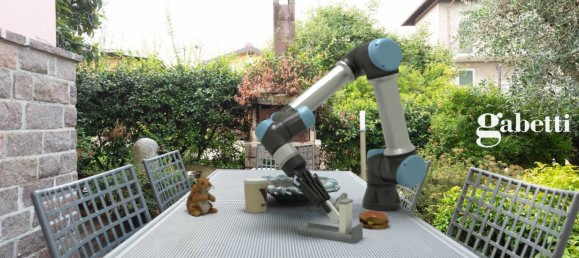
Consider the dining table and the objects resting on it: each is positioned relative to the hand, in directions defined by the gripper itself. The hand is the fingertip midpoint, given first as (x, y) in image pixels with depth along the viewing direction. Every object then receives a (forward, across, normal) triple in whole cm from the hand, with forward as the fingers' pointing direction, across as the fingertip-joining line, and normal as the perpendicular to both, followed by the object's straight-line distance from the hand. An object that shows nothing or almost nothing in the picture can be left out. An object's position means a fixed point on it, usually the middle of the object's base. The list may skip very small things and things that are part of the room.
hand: (338, 220), depth 125 cm
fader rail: (+2, 0, -6) cm, 6 cm away
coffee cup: (-26, -17, -33) cm, 45 cm away
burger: (+7, -19, -1) cm, 20 cm away
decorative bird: (-3, -25, -11) cm, 28 cm away
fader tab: (+4, 0, -1) cm, 4 cm away
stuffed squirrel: (-37, -4, -45) cm, 59 cm away
